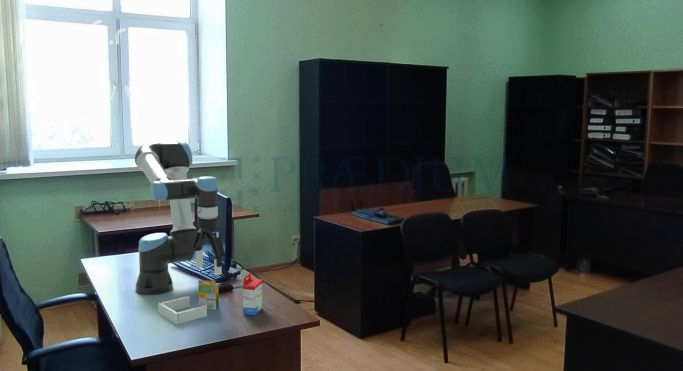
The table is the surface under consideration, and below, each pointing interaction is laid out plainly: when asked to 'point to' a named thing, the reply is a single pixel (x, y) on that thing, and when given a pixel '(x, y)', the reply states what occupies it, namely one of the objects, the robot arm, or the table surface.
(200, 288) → the crayon box
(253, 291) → the ink box
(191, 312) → the tray
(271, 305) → the table surface
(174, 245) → the robot arm
